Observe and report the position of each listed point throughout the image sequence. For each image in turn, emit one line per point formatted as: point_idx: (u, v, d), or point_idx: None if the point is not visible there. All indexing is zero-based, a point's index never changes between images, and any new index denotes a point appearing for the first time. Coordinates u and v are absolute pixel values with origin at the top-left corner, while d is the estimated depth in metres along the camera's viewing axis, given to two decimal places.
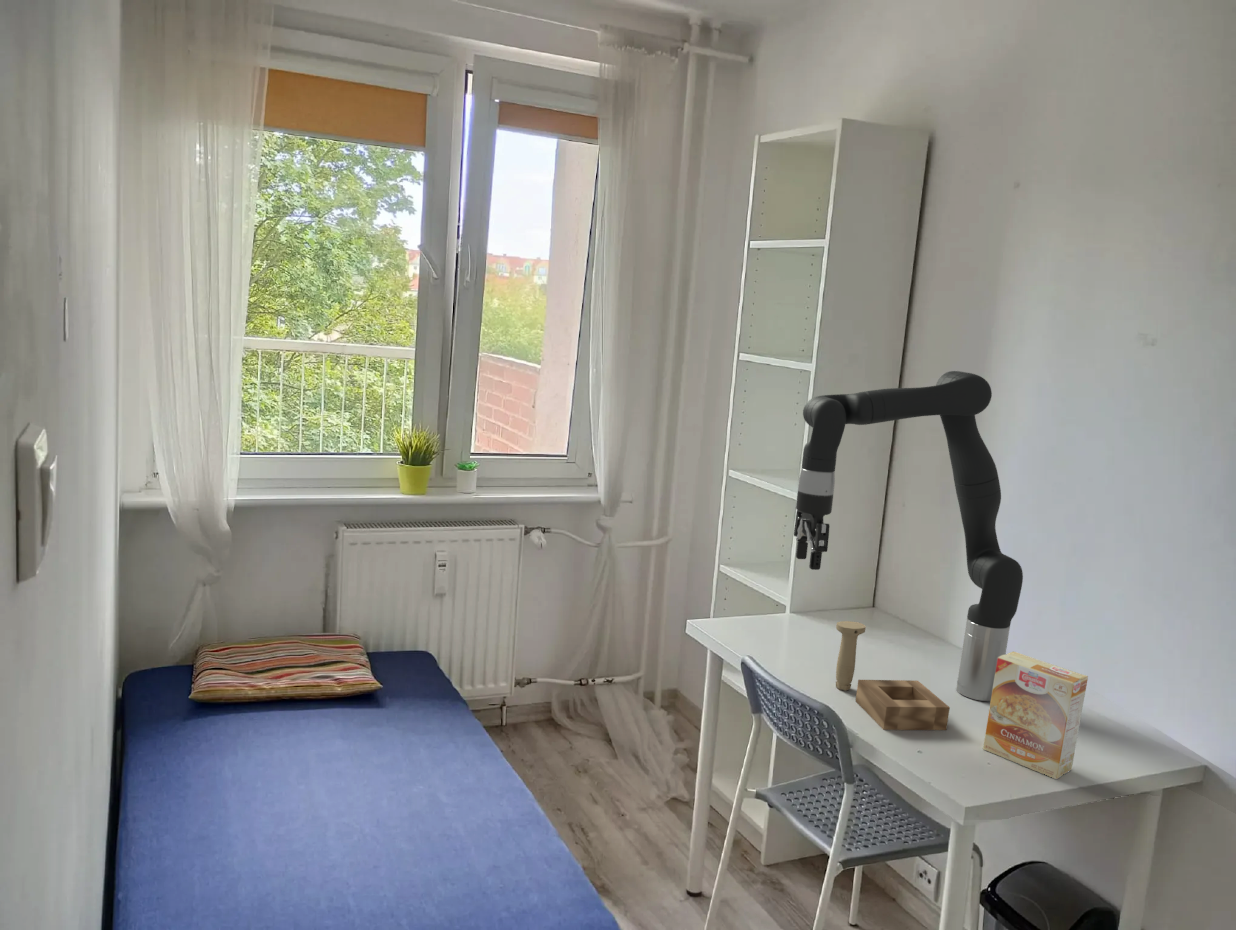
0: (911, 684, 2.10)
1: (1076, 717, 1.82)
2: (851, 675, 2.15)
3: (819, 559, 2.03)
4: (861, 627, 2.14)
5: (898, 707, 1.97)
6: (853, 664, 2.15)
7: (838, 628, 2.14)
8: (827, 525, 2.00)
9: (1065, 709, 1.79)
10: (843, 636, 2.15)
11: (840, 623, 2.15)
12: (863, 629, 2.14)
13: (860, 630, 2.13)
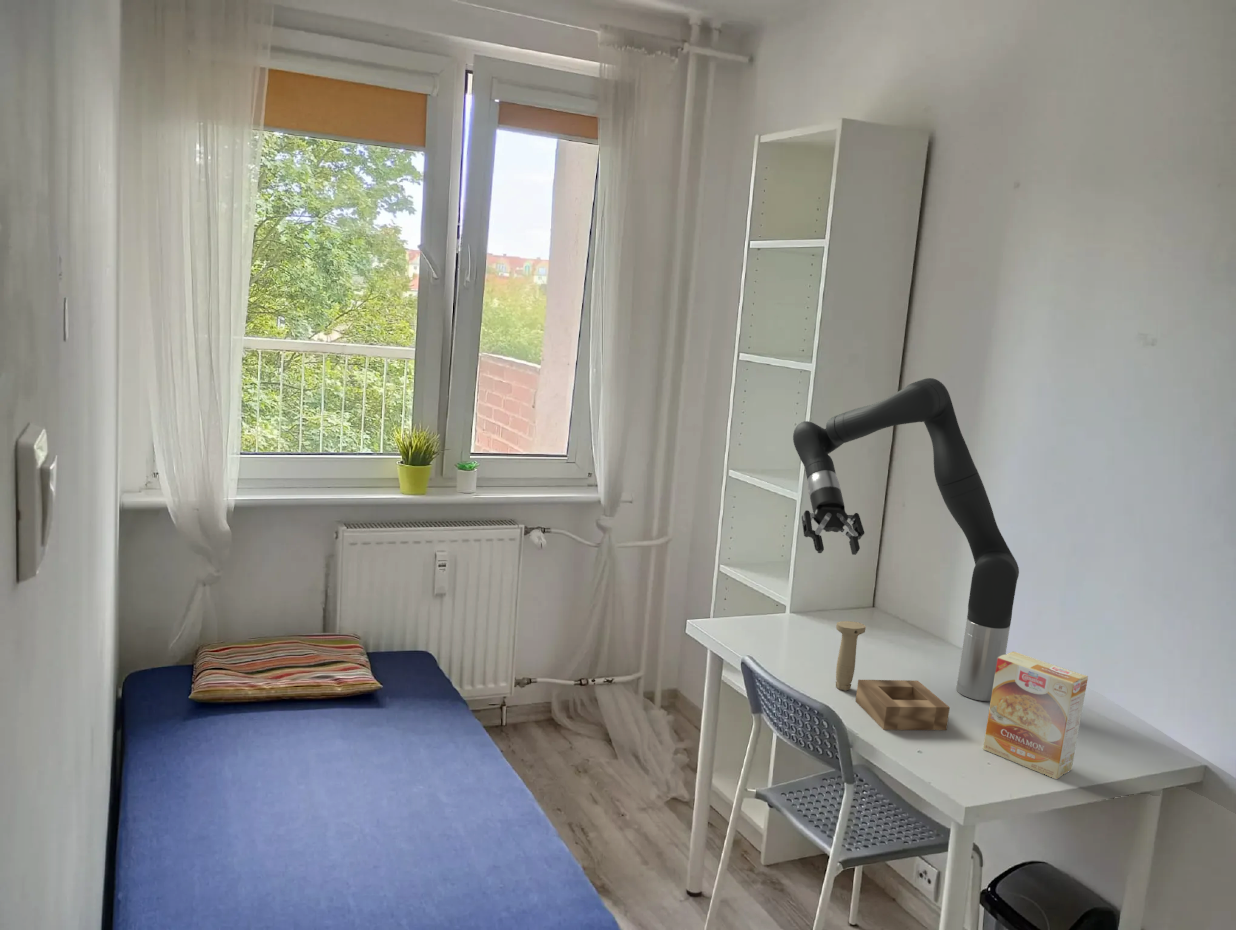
0: (911, 684, 2.10)
1: (1076, 717, 1.82)
2: (851, 675, 2.15)
3: (815, 541, 2.23)
4: (861, 627, 2.14)
5: (898, 707, 1.97)
6: (853, 664, 2.15)
7: (838, 628, 2.14)
8: (804, 512, 2.27)
9: (1065, 709, 1.79)
10: (843, 636, 2.15)
11: (840, 623, 2.15)
12: (863, 629, 2.14)
13: (860, 630, 2.13)
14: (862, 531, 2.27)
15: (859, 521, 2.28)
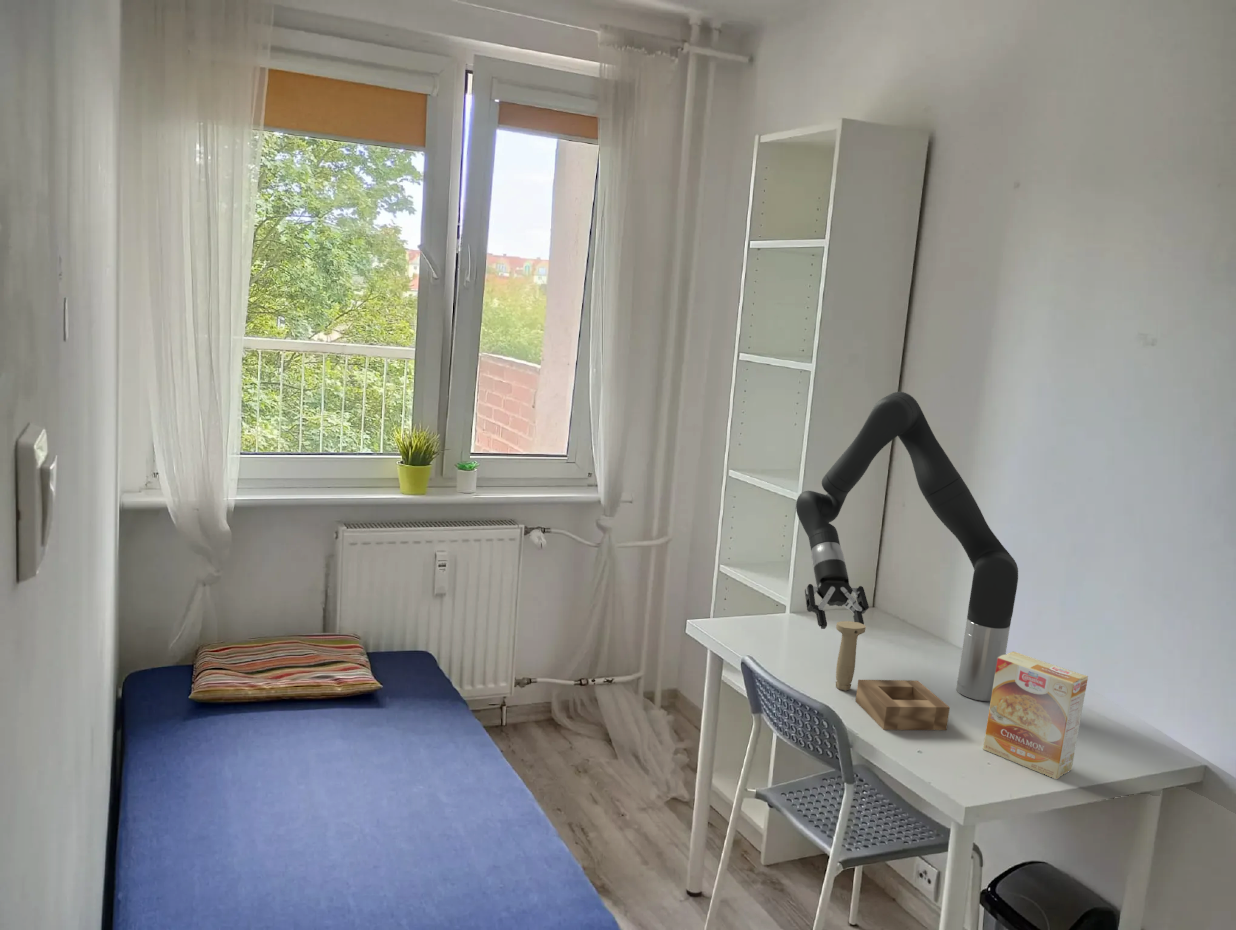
0: (911, 684, 2.10)
1: (1076, 717, 1.82)
2: (851, 675, 2.15)
3: (818, 616, 2.20)
4: (861, 627, 2.14)
5: (898, 707, 1.97)
6: (853, 664, 2.15)
7: (838, 628, 2.14)
8: None
9: (1065, 709, 1.79)
10: (843, 636, 2.15)
11: (840, 623, 2.15)
12: (863, 629, 2.14)
13: (860, 630, 2.13)
14: (866, 606, 2.23)
15: (863, 594, 2.24)
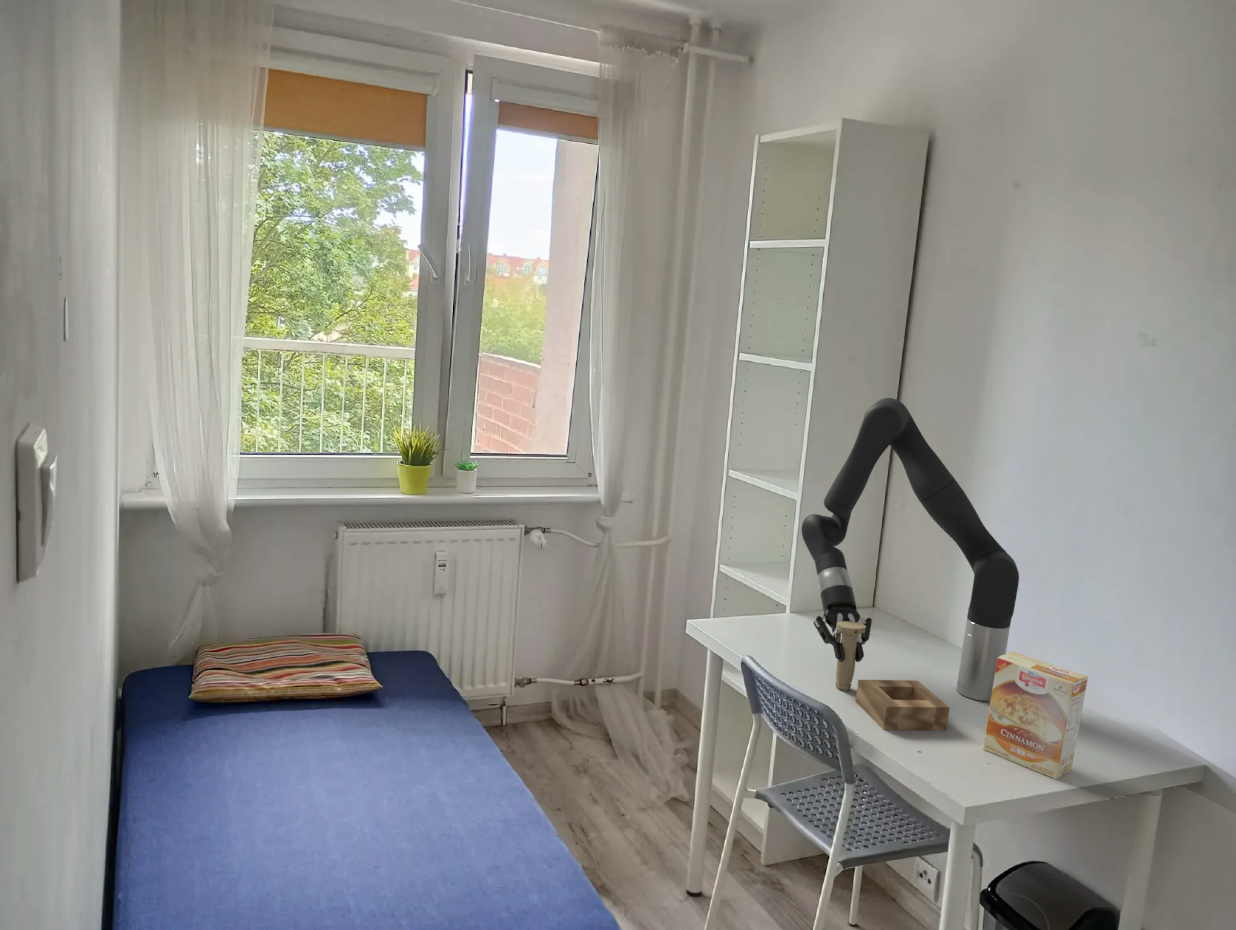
0: (911, 684, 2.10)
1: (1076, 717, 1.82)
2: (851, 675, 2.15)
3: (836, 649, 2.15)
4: (861, 627, 2.14)
5: (898, 707, 1.97)
6: (853, 664, 2.15)
7: (838, 628, 2.14)
8: (816, 618, 2.18)
9: (1065, 709, 1.79)
10: (843, 636, 2.15)
11: (840, 623, 2.15)
12: (863, 629, 2.14)
13: (860, 630, 2.13)
14: (866, 637, 2.17)
15: (868, 626, 2.19)
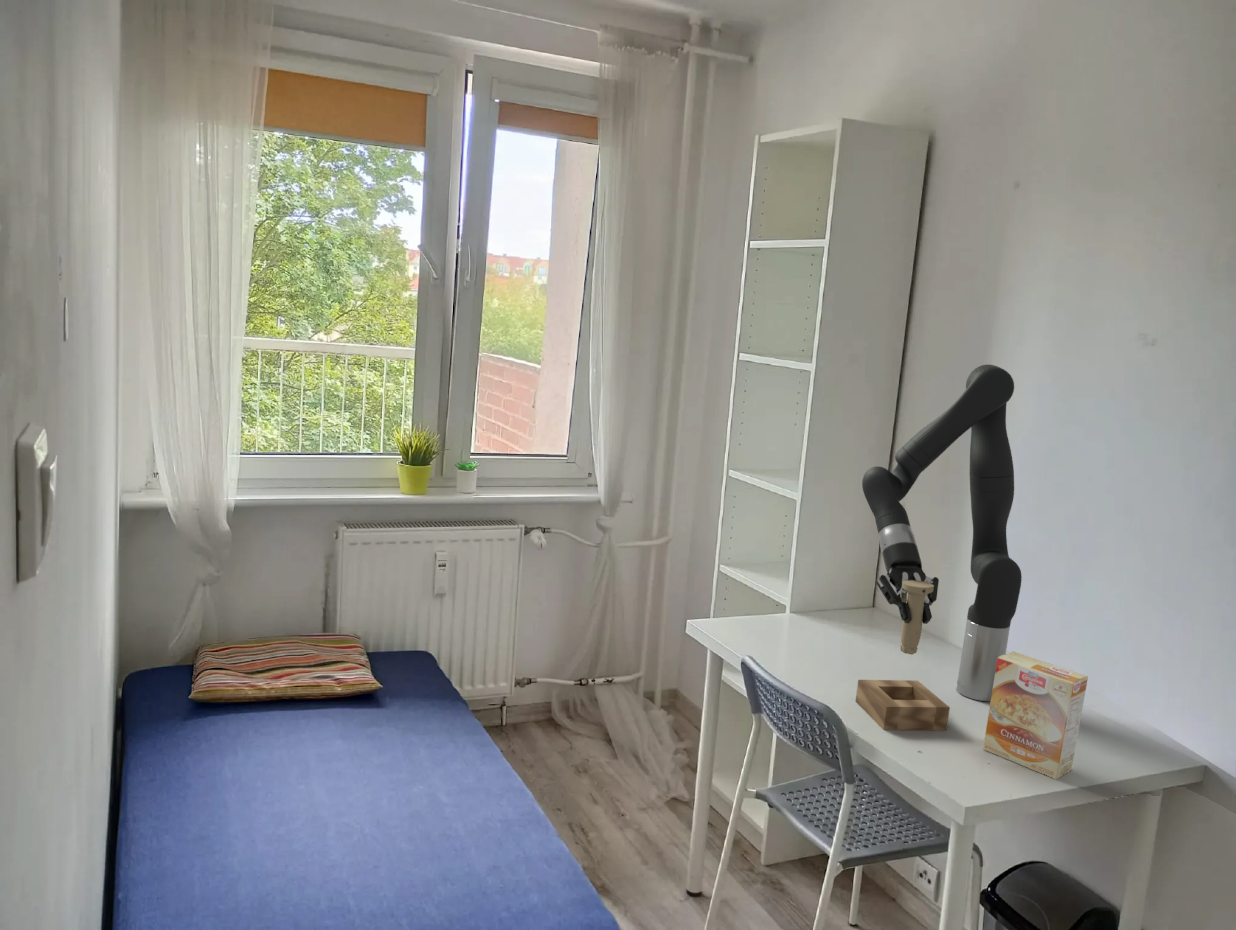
0: (911, 684, 2.10)
1: (1076, 717, 1.82)
2: (918, 637, 2.01)
3: (901, 609, 2.00)
4: (929, 586, 1.99)
5: (898, 707, 1.97)
6: (920, 626, 2.00)
7: (904, 587, 1.99)
8: (879, 577, 2.03)
9: (1065, 709, 1.79)
10: (910, 596, 2.00)
11: (906, 582, 2.01)
12: (931, 588, 1.99)
13: (929, 590, 1.98)
14: (934, 597, 2.02)
15: (935, 586, 2.04)
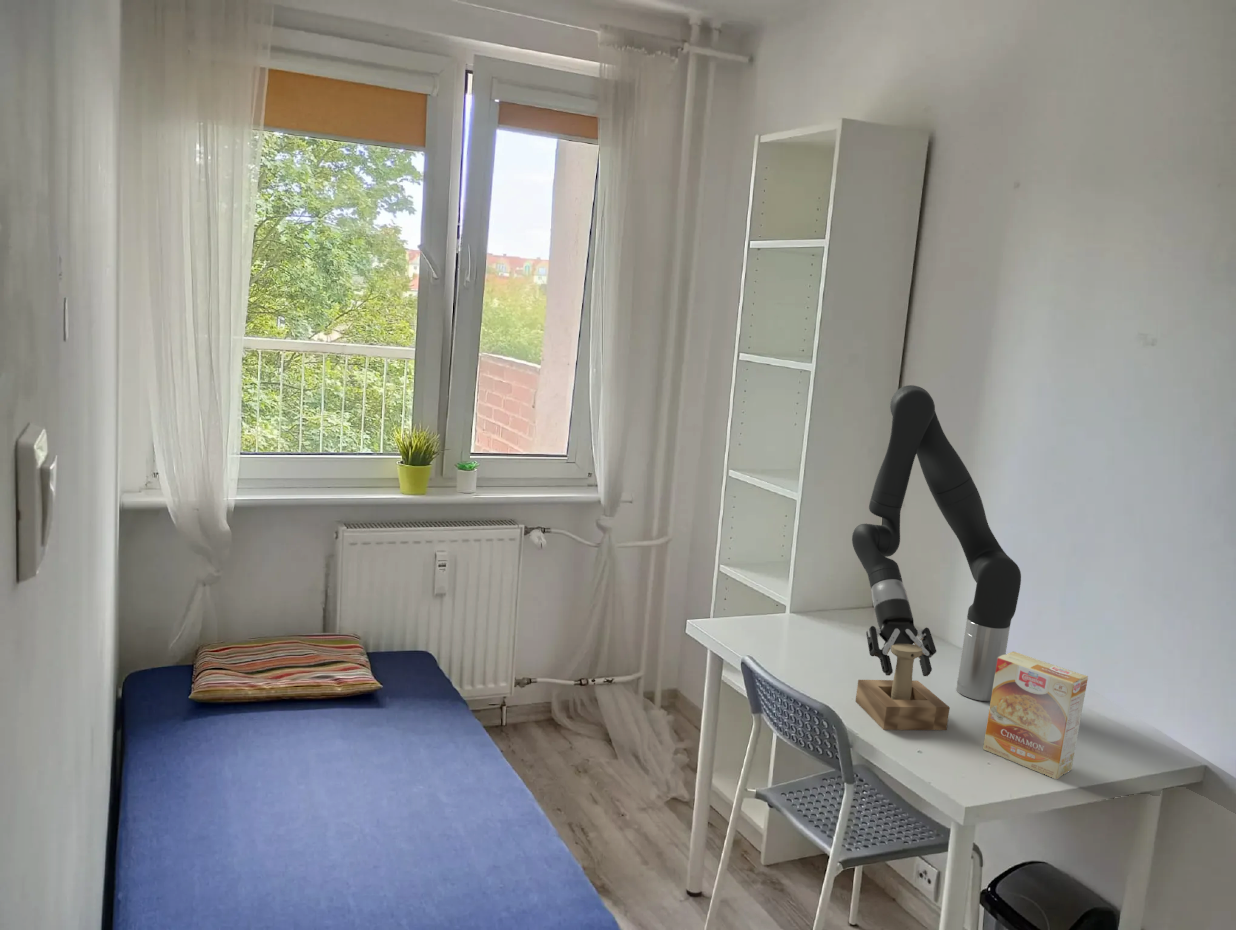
0: None
1: (1076, 717, 1.82)
2: None
3: (883, 662, 2.02)
4: (918, 650, 2.02)
5: (898, 707, 1.97)
6: (909, 689, 2.03)
7: (893, 651, 2.02)
8: (870, 627, 2.06)
9: (1065, 709, 1.79)
10: (898, 660, 2.02)
11: (895, 646, 2.03)
12: (920, 652, 2.01)
13: (917, 654, 2.01)
14: (934, 649, 2.05)
15: (930, 637, 2.07)
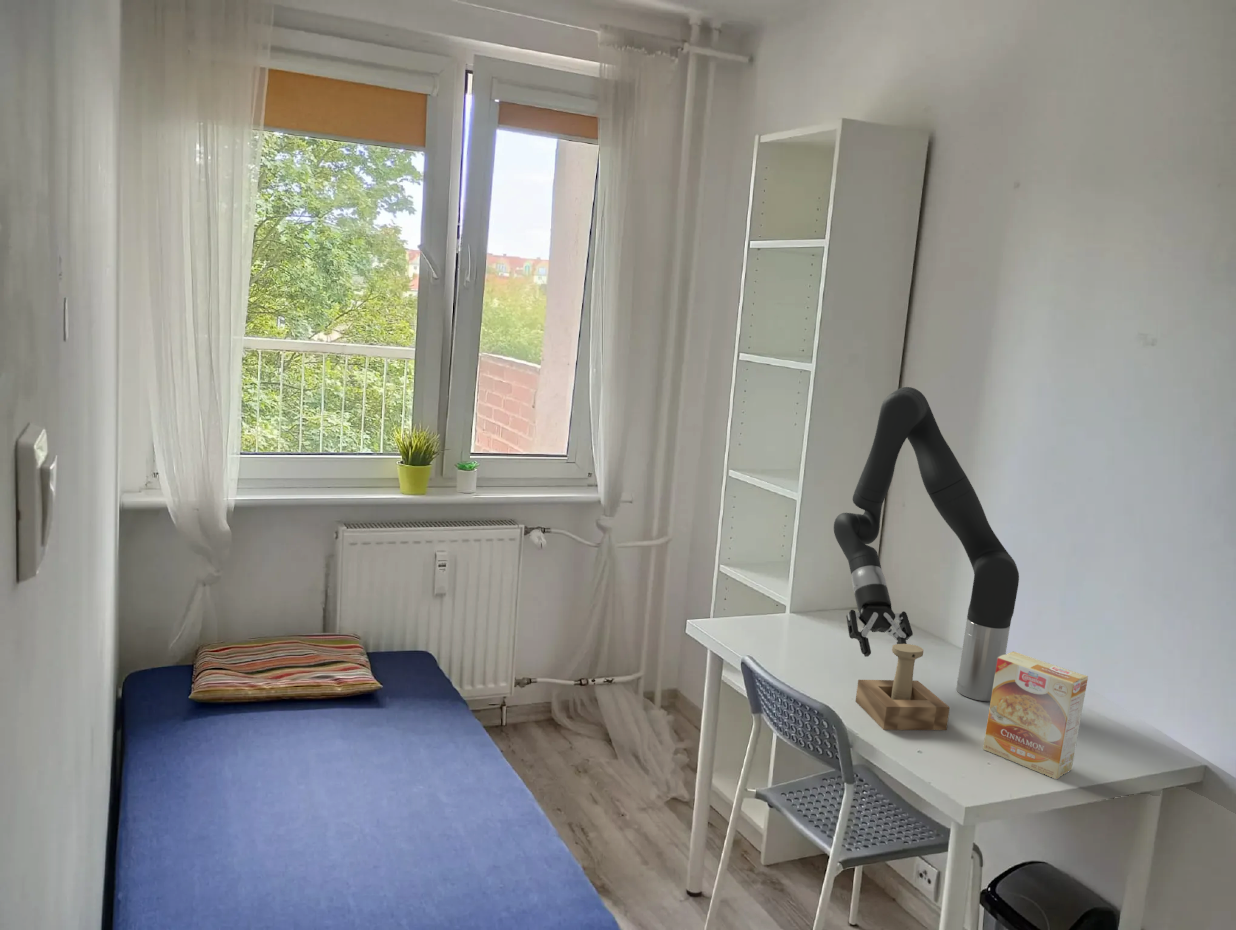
0: None
1: (1076, 717, 1.82)
2: None
3: (862, 644, 2.12)
4: (919, 650, 2.01)
5: (898, 707, 1.97)
6: (910, 689, 2.03)
7: (894, 651, 2.02)
8: (850, 611, 2.16)
9: (1065, 709, 1.79)
10: (899, 660, 2.02)
11: (896, 646, 2.03)
12: (921, 653, 2.01)
13: (918, 654, 2.01)
14: (910, 632, 2.15)
15: (906, 620, 2.17)
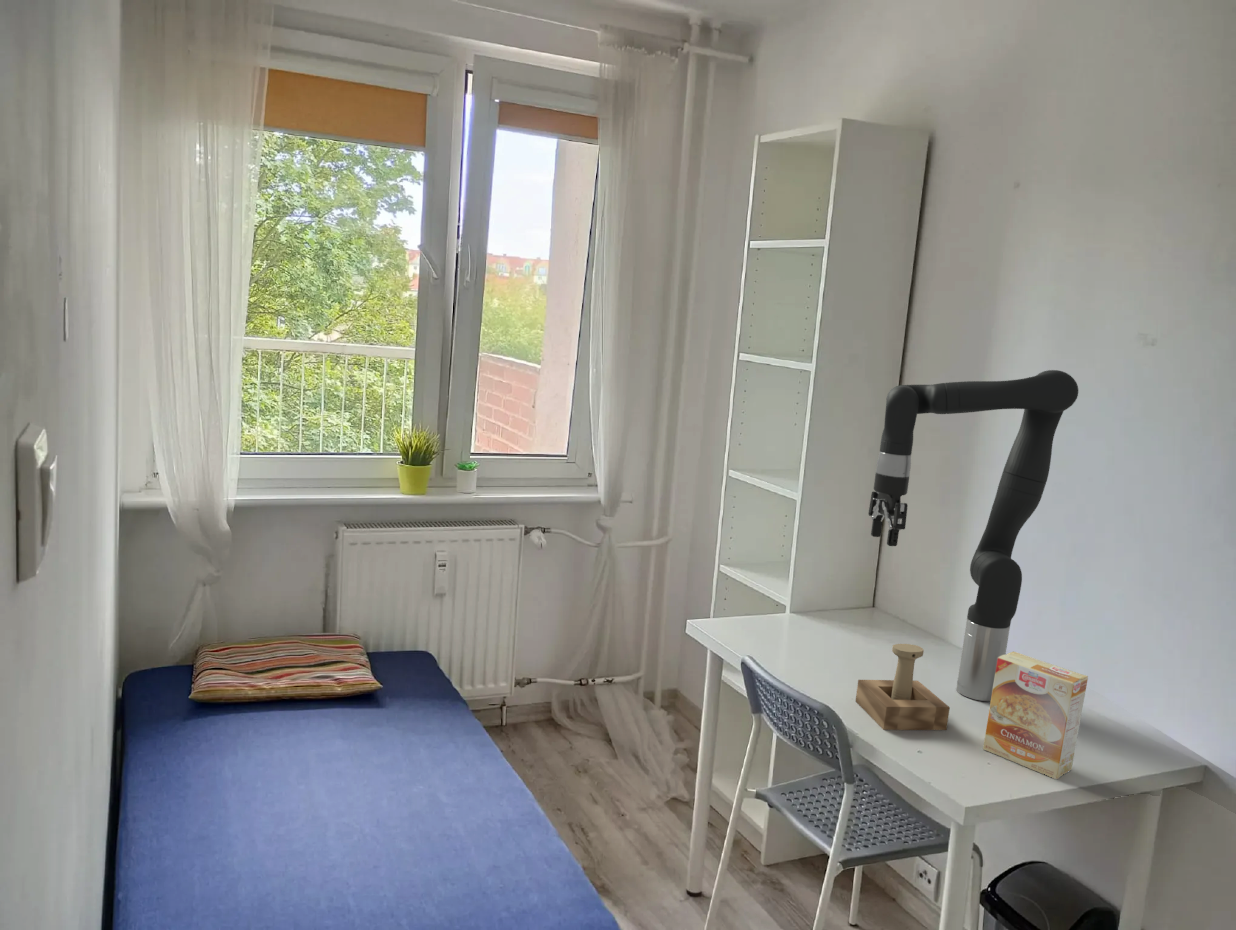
0: None
1: (1076, 717, 1.82)
2: None
3: (896, 536, 2.18)
4: (919, 650, 2.02)
5: (898, 707, 1.97)
6: (910, 689, 2.03)
7: (894, 651, 2.02)
8: (905, 504, 2.15)
9: (1065, 709, 1.79)
10: (900, 660, 2.02)
11: (896, 646, 2.03)
12: (921, 652, 2.01)
13: (918, 654, 2.01)
14: None
15: None
